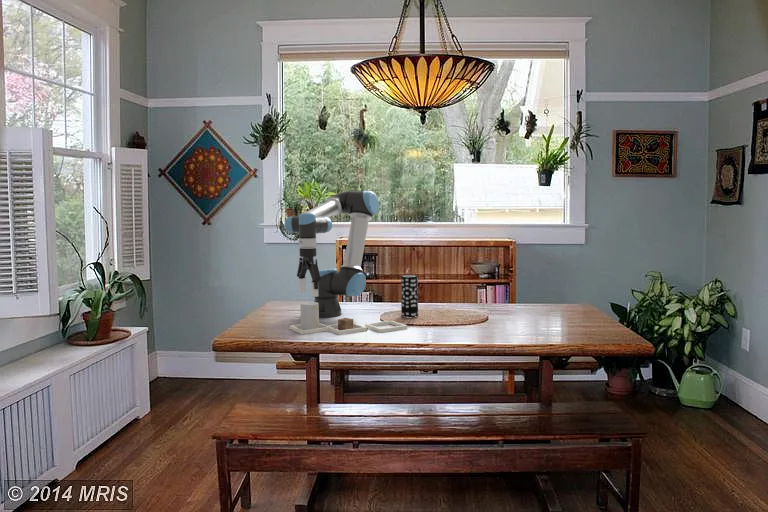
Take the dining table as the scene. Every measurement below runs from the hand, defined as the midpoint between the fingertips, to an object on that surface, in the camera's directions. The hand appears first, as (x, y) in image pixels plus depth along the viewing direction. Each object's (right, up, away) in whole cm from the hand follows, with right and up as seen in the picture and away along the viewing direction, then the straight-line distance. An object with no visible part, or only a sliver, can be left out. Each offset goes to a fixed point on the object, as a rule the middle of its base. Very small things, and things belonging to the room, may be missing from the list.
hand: (308, 294), depth 306 cm
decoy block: (+17, -16, 0) cm, 23 cm away
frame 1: (0, -16, +2) cm, 16 cm away
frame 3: (+35, -15, +3) cm, 38 cm away
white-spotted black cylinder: (+47, -13, +29) cm, 57 cm away
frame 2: (+17, -16, 0) cm, 23 cm away
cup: (0, -16, +2) cm, 16 cm away
